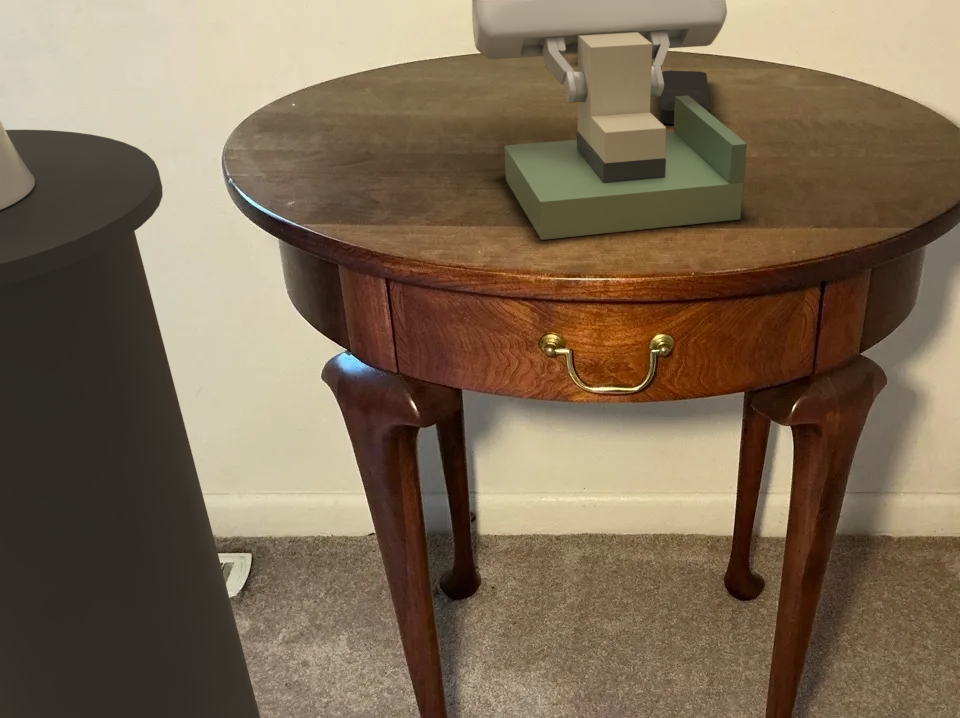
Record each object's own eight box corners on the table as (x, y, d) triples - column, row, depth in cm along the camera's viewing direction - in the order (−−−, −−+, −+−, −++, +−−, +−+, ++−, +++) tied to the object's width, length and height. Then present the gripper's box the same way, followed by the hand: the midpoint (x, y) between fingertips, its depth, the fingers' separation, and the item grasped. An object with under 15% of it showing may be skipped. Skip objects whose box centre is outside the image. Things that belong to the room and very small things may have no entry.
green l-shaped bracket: (540, 240, 78) (539, 161, 75) (505, 180, 89) (502, 108, 85) (740, 219, 82) (747, 143, 79) (684, 164, 92) (688, 95, 89)
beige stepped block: (576, 149, 86) (576, 34, 81) (634, 144, 87) (637, 31, 82) (603, 183, 80) (604, 60, 75) (665, 177, 81) (670, 56, 76)
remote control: (660, 87, 114) (659, 124, 101) (661, 69, 113) (660, 105, 100) (705, 88, 114) (710, 125, 101) (706, 71, 113) (711, 106, 100)
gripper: (457, -86, 79) (488, 83, 77) (713, -93, 84) (749, 65, 81) (452, -32, 85) (481, 126, 83) (691, -42, 90) (724, 107, 87)
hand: (616, 96), depth 82 cm, fingers closed on beige stepped block, 5 cm apart
